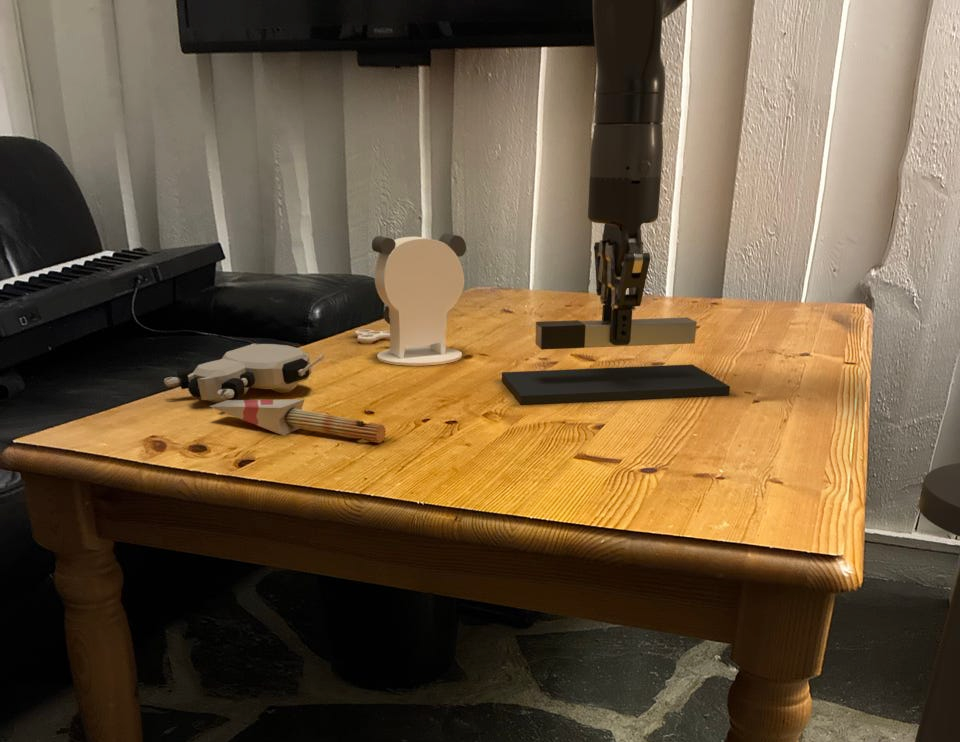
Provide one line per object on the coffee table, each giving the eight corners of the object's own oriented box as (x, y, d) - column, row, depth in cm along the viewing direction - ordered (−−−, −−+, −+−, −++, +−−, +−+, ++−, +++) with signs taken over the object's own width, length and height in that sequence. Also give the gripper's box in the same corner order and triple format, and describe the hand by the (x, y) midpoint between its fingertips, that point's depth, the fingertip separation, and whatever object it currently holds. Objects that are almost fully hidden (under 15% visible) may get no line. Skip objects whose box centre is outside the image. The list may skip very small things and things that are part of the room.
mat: (691, 372, 116) (692, 364, 116) (729, 395, 106) (730, 386, 105) (501, 380, 113) (501, 372, 113) (521, 404, 103) (521, 395, 102)
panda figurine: (446, 345, 133) (443, 230, 126) (480, 360, 124) (479, 236, 117) (365, 353, 128) (358, 234, 121) (395, 368, 119) (389, 241, 112)
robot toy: (231, 424, 99) (332, 387, 109) (222, 381, 97) (327, 348, 107) (161, 407, 106) (263, 373, 116) (152, 366, 104) (257, 336, 113)
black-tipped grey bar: (541, 349, 105) (541, 326, 103) (535, 344, 107) (535, 321, 106) (695, 343, 107) (697, 320, 106) (685, 338, 110) (687, 316, 109)
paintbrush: (229, 385, 98) (391, 415, 90) (231, 411, 99) (391, 443, 92) (203, 392, 95) (368, 425, 87) (206, 419, 96) (369, 453, 89)
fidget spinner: (354, 334, 140) (353, 329, 139) (396, 332, 141) (396, 327, 141) (358, 343, 134) (358, 337, 133) (403, 341, 135) (402, 335, 135)
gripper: (574, 171, 105) (568, 331, 113) (609, 175, 92) (600, 355, 100) (639, 170, 106) (628, 329, 114) (682, 174, 93) (667, 352, 102)
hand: (615, 340), depth 107 cm, fingers closed on black-tipped grey bar, 3 cm apart
